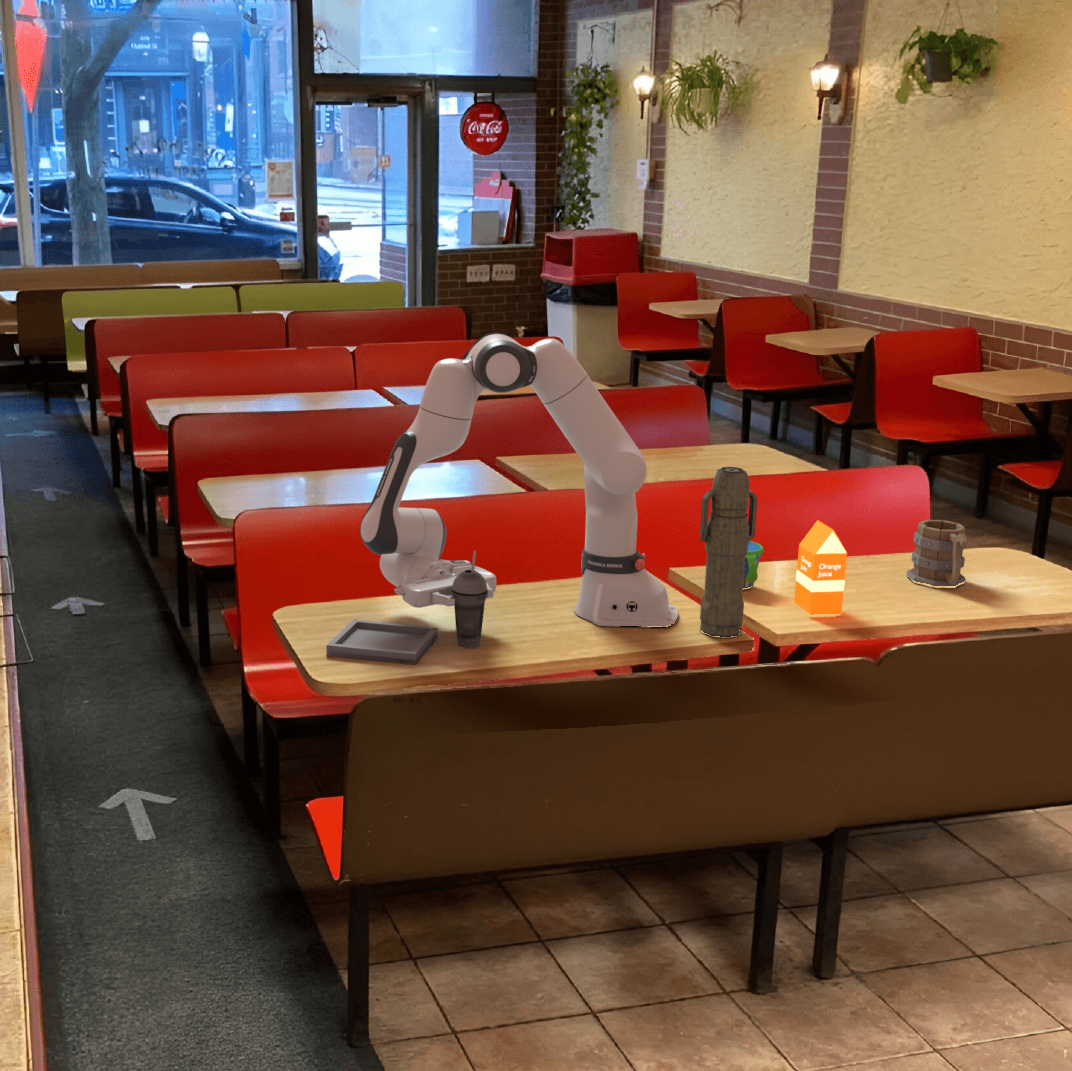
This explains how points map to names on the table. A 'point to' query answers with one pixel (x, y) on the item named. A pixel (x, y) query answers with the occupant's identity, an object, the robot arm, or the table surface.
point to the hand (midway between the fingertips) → (471, 598)
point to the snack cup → (751, 564)
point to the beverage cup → (469, 606)
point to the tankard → (938, 553)
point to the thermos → (726, 550)
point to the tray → (382, 642)
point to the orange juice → (820, 571)
